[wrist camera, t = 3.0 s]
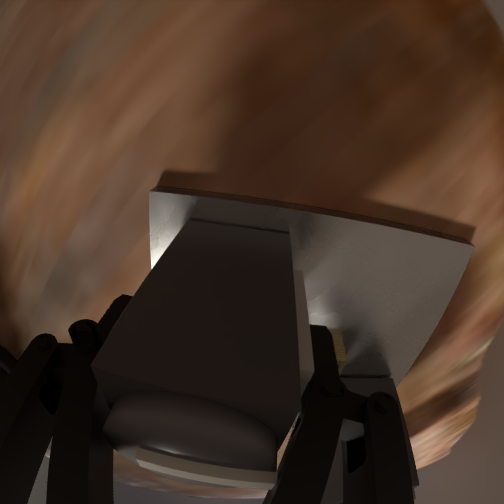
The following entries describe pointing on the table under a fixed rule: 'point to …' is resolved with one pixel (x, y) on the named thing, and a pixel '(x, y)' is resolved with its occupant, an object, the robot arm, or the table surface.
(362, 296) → the base plate
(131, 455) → the knob
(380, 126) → the table surface
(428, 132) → the table surface
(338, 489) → the knob
